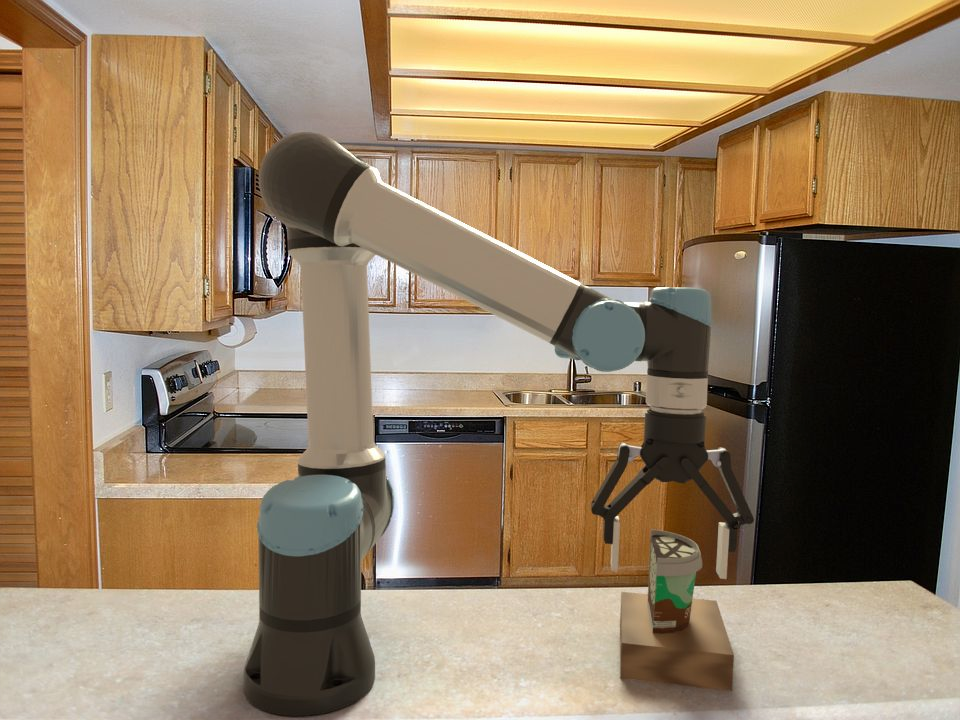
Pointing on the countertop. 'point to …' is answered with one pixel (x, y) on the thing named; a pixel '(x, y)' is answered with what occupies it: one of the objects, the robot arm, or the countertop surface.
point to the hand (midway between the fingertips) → (667, 571)
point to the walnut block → (675, 647)
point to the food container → (671, 580)
